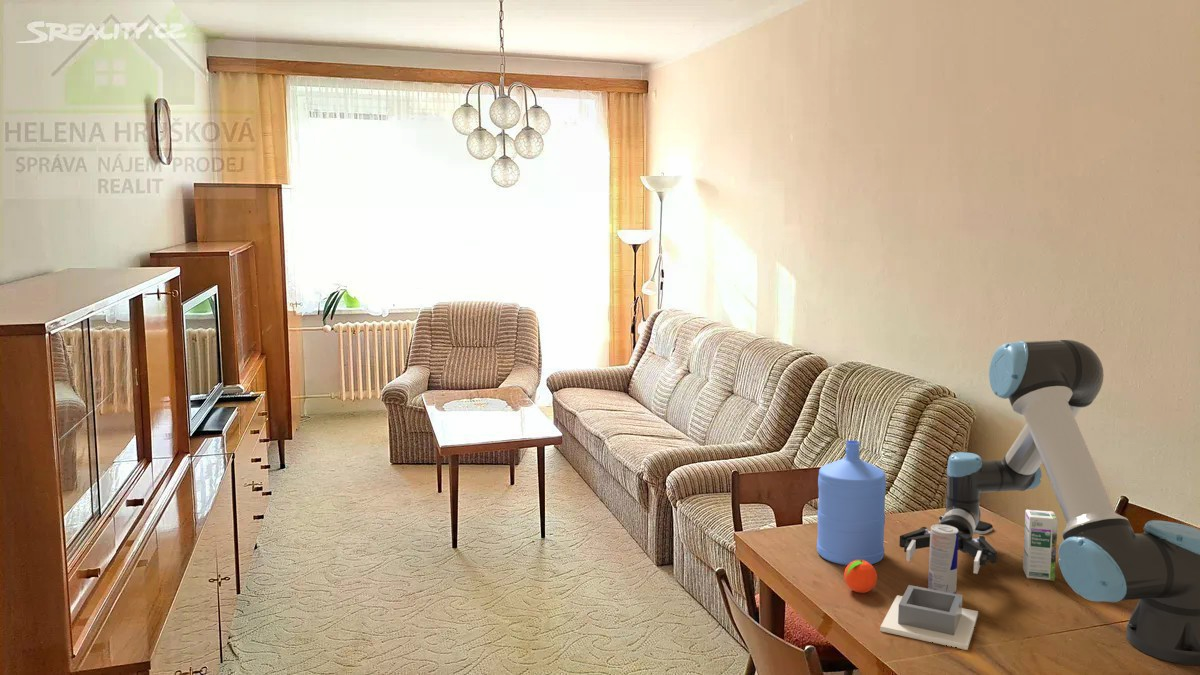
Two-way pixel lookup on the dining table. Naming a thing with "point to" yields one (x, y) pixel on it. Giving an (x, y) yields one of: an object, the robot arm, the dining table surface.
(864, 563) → the clementine
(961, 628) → the can holder
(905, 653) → the dining table surface
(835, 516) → the water jug
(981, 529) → the remote control
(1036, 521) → the syrup box
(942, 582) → the beverage can
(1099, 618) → the dining table surface
